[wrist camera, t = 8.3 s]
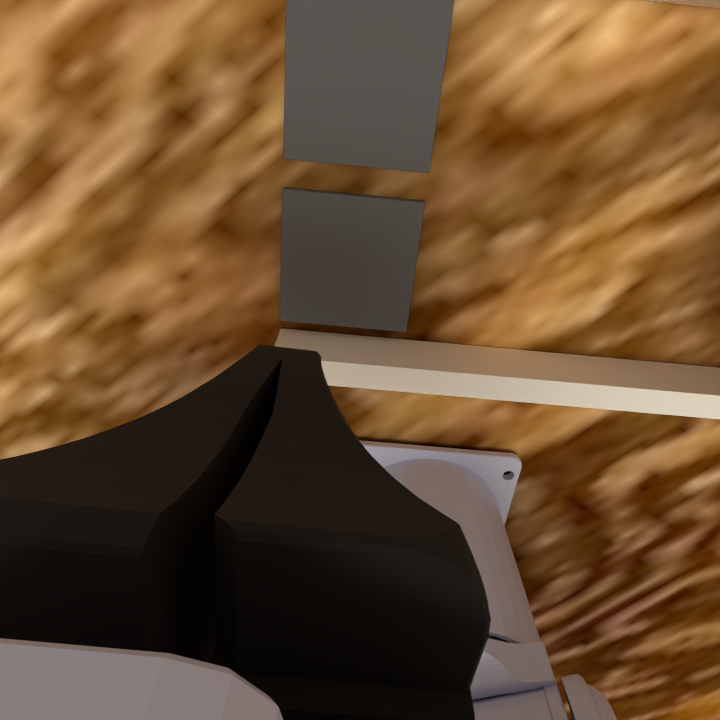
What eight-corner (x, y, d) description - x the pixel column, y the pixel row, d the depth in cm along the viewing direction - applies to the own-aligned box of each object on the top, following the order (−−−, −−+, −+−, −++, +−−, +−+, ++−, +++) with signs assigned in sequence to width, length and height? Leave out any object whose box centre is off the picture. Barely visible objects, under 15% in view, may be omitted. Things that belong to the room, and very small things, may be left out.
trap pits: (405, 328, 21) (406, 332, 21) (281, 316, 21) (279, 320, 20) (452, -1, 16) (454, -3, 16) (289, -19, 16) (287, -21, 15)
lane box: (935, 408, 22) (998, 443, 20) (280, 350, 21) (270, 380, 19) (1209, 20, 16) (1345, 9, 14) (290, -82, 15) (276, -112, 13)
